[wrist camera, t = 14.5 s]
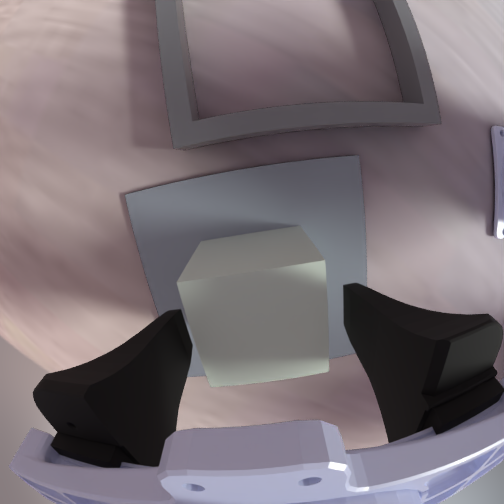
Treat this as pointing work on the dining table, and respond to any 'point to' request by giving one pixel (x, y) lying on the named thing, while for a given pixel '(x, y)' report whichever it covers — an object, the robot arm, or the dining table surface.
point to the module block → (258, 307)
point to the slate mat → (256, 226)
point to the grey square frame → (300, 115)
